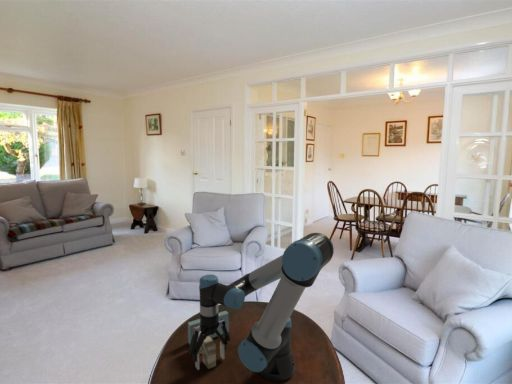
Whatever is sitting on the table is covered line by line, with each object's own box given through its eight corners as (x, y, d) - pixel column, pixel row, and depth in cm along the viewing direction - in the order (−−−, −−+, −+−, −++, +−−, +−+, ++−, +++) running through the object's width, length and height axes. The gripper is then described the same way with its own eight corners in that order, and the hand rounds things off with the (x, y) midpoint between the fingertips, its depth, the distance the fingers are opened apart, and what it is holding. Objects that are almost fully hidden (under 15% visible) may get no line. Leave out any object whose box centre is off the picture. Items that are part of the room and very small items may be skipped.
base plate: (225, 329, 152) (225, 310, 151) (228, 332, 150) (228, 313, 149) (188, 342, 141) (187, 322, 140) (190, 346, 139) (190, 325, 138)
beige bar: (216, 365, 126) (215, 343, 125) (208, 369, 124) (207, 346, 123) (200, 346, 139) (200, 325, 138) (193, 348, 137) (192, 328, 136)
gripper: (229, 301, 133) (230, 348, 136) (178, 317, 120) (180, 368, 123) (238, 308, 127) (238, 357, 130) (185, 325, 114) (186, 379, 117)
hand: (210, 362), depth 126 cm, fingers open, 11 cm apart
